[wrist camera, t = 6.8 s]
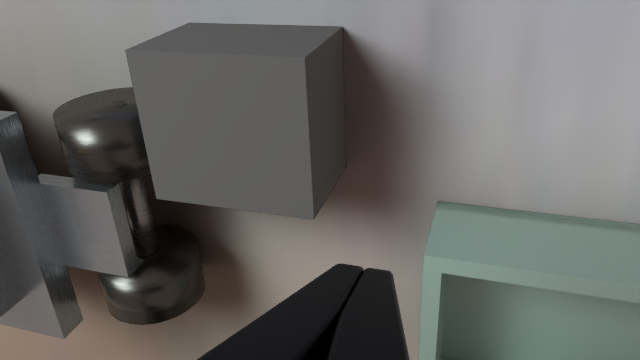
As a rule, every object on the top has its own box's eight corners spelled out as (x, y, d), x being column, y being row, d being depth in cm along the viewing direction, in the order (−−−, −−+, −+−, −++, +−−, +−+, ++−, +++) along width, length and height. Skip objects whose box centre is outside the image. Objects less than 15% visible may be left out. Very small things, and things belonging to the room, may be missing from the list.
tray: (783, 422, 17) (827, 514, 15) (428, 353, 20) (415, 419, 18) (870, 250, 14) (944, 330, 12) (438, 201, 17) (423, 255, 15)
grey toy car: (222, 276, 22) (129, 399, 17) (-14, 235, 25) (-151, 326, 20) (192, 81, 18) (60, 161, 13) (-80, 65, 22) (-268, 123, 17)
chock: (347, 164, 18) (314, 219, 15) (210, 151, 20) (156, 198, 17) (344, 25, 16) (304, 57, 13) (191, 21, 17) (125, 49, 15)
